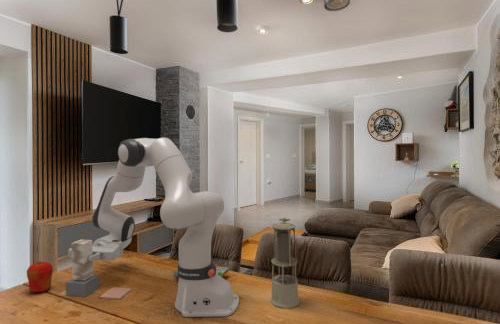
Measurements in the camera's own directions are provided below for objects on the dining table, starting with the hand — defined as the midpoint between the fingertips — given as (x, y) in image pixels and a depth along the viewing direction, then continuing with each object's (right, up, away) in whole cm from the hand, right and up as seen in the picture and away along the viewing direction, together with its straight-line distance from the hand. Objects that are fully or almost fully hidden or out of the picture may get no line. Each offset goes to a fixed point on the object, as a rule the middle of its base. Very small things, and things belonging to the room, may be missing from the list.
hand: (80, 259), depth 120 cm
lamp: (+77, -13, -6) cm, 78 cm away
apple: (-17, -13, +2) cm, 22 cm away
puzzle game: (+44, -13, +13) cm, 48 cm away
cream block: (0, -7, +1) cm, 8 cm away
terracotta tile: (+14, -13, -1) cm, 19 cm away
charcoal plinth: (0, -13, +1) cm, 13 cm away
